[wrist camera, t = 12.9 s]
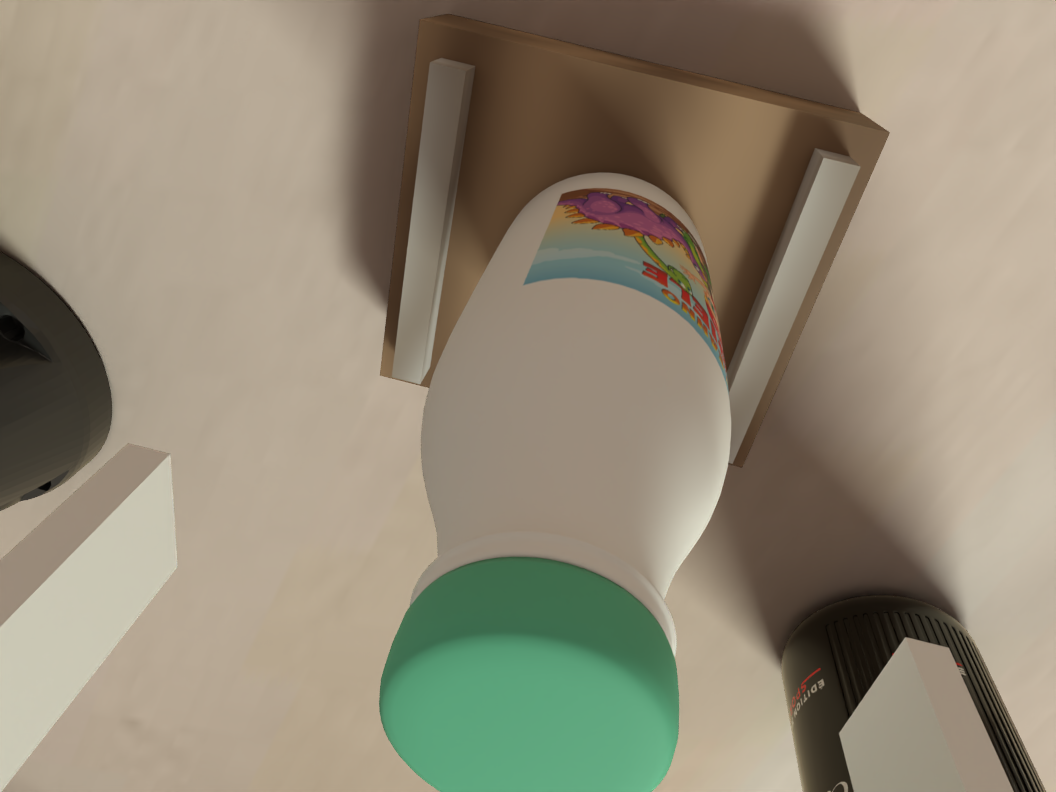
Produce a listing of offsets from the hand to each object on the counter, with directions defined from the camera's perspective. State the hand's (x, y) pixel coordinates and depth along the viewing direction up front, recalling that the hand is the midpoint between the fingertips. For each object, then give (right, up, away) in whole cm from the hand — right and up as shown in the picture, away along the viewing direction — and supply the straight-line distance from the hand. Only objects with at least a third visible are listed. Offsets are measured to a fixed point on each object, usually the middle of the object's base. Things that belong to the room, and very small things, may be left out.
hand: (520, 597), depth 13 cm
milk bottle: (+3, +8, +15) cm, 17 cm away
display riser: (+3, +10, +18) cm, 21 cm away
